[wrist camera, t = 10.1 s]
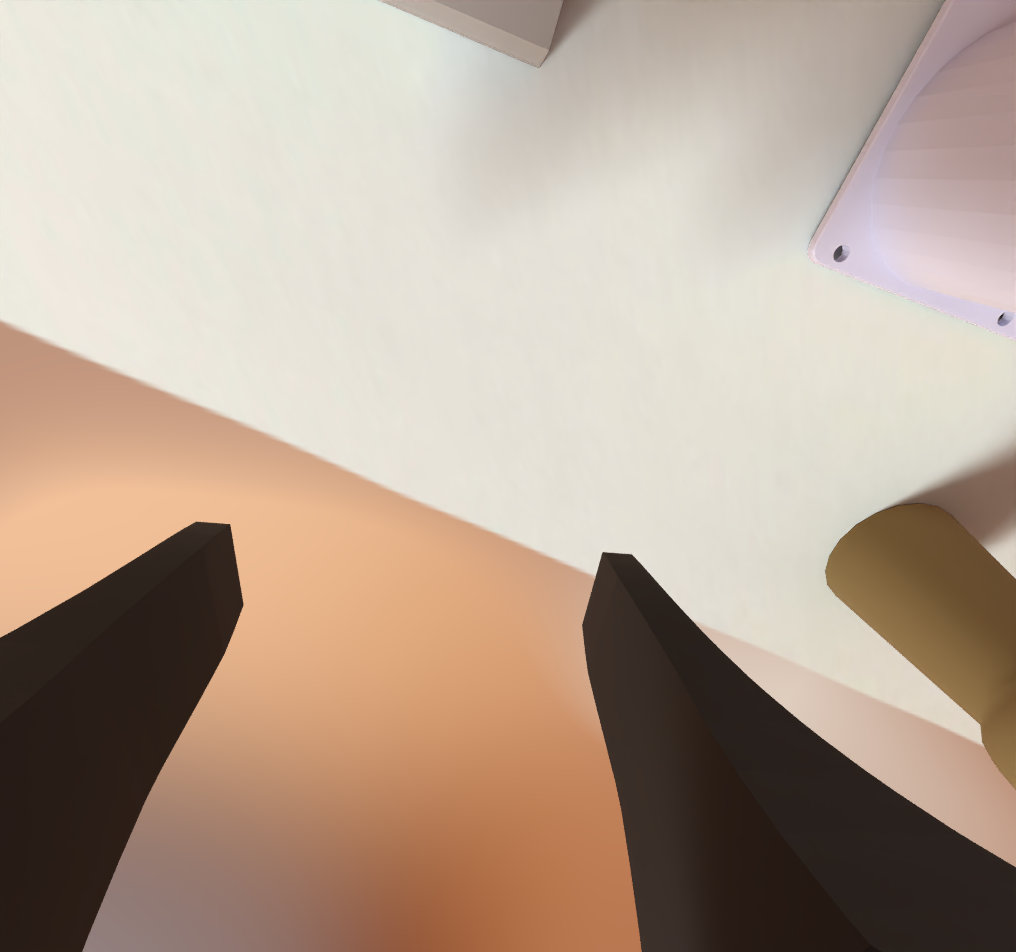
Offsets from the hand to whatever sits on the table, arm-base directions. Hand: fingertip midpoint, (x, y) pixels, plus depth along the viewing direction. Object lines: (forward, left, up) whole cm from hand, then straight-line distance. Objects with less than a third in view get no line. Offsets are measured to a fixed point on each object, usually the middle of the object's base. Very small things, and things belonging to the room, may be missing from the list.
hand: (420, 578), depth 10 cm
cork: (-22, +2, -11) cm, 25 cm away
